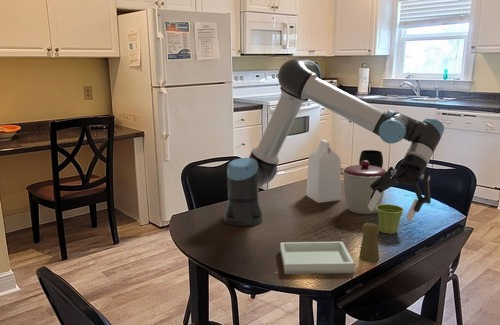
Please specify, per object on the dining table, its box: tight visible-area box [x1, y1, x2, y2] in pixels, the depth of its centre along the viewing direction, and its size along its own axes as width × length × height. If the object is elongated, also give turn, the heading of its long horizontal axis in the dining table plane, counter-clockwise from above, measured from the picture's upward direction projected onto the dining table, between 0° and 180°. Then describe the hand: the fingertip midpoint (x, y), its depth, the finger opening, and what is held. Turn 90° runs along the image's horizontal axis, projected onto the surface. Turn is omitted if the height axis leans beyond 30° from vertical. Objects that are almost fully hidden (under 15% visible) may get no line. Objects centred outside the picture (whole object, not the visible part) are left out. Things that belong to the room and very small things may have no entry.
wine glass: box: [358, 149, 384, 168], centre depth 199 cm, size 10×10×20 cm
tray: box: [279, 241, 356, 275], centre depth 132 cm, size 20×16×3 cm
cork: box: [358, 222, 380, 263], centre depth 134 cm, size 6×6×11 cm
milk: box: [305, 139, 342, 204], centre depth 195 cm, size 12×12×26 cm
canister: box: [341, 160, 388, 215], centre depth 177 cm, size 18×18×21 cm
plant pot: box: [376, 203, 405, 235], centre depth 156 cm, size 9×9×9 cm
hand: (388, 214), depth 137 cm, fingers open, 13 cm apart
